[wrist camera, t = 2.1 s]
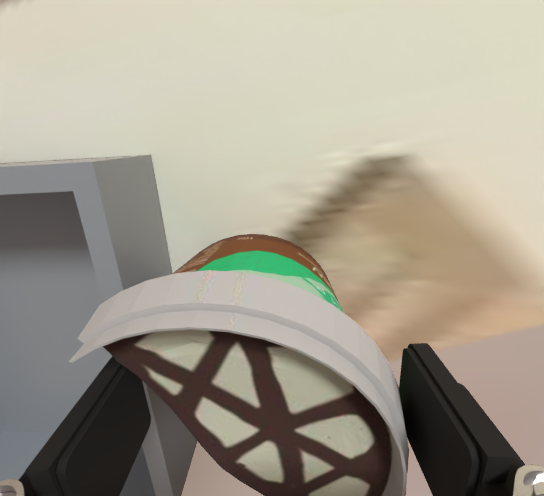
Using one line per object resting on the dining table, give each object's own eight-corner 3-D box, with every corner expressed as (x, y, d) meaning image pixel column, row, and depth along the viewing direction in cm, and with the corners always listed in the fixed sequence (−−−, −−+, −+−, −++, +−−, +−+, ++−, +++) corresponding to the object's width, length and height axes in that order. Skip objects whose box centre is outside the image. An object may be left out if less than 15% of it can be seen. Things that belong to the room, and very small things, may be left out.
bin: (150, 154, 16) (92, 161, 11) (200, 430, 22) (176, 509, 17) (-118, 170, 17) (-278, 182, 12) (3, 430, 23) (-70, 505, 18)
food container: (394, 329, 18) (504, 528, 9) (310, 376, 20) (330, 589, 11) (269, 161, 16) (241, 198, 6) (182, 231, 17) (51, 347, 8)
